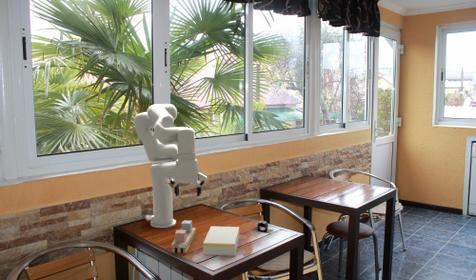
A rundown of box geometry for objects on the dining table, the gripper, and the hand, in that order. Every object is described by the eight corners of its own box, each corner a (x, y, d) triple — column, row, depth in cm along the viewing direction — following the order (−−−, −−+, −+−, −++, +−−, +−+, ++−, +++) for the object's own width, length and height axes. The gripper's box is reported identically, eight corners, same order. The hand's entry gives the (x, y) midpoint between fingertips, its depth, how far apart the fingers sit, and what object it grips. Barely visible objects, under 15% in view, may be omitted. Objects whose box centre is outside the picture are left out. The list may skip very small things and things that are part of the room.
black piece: (247, 231, 191) (247, 222, 191) (254, 226, 198) (254, 217, 197) (271, 235, 186) (271, 226, 185) (277, 230, 192) (277, 221, 191)
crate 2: (181, 232, 179) (181, 223, 179) (183, 228, 183) (183, 220, 183) (190, 232, 179) (190, 223, 178) (192, 229, 183) (192, 220, 182)
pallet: (171, 253, 166) (171, 244, 165) (182, 235, 185) (182, 227, 185) (185, 253, 165) (185, 244, 165) (195, 236, 185) (195, 227, 184)
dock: (203, 254, 163) (203, 243, 162) (211, 236, 183) (210, 226, 183) (234, 255, 162) (234, 244, 161) (239, 237, 182) (239, 227, 181)
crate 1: (174, 242, 167) (174, 233, 166) (177, 238, 171) (177, 229, 170) (184, 242, 166) (184, 233, 166) (186, 239, 170) (186, 230, 170)
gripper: (164, 158, 171) (166, 197, 173) (204, 158, 168) (205, 197, 170) (170, 155, 178) (171, 193, 180) (208, 155, 176) (209, 193, 177)
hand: (188, 195), depth 175 cm, fingers open, 9 cm apart
